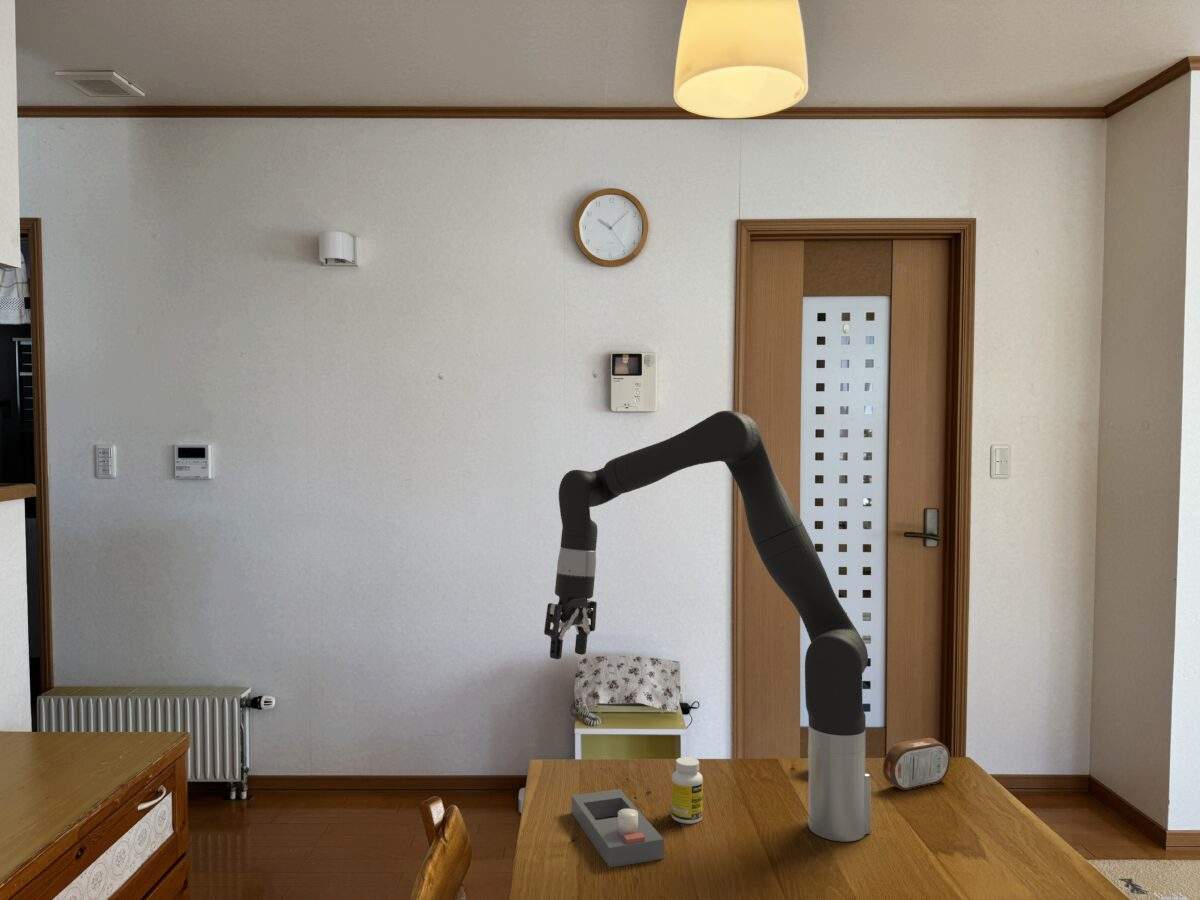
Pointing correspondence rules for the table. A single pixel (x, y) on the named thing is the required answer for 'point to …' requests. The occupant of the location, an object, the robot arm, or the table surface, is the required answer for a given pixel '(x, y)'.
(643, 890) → the table surface
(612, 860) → the grey square-hole tray
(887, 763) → the tin
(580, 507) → the robot arm
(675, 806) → the supplement bottle
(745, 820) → the table surface
